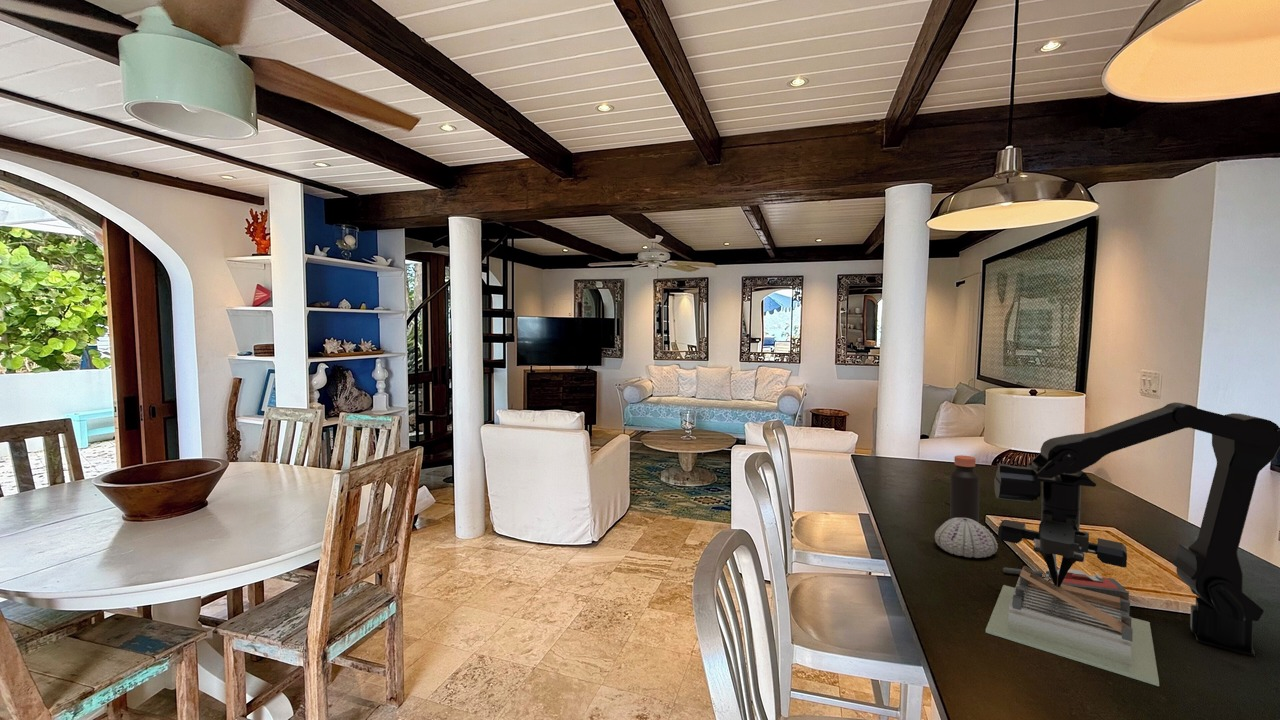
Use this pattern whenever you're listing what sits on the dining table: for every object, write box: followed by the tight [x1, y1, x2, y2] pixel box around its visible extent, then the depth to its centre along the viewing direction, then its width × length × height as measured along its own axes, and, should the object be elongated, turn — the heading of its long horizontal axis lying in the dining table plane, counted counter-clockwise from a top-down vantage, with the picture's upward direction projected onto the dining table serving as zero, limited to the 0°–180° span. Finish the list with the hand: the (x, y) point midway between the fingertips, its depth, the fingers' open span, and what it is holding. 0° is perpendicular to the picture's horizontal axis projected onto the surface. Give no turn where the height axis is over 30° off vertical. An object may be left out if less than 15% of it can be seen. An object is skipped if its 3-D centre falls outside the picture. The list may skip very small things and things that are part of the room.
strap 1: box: [1028, 581, 1127, 607], centre depth 97 cm, size 15×3×1 cm, turn 48°
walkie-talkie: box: [1002, 567, 1127, 598], centre depth 108 cm, size 9×4×20 cm
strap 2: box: [1019, 565, 1130, 633], centre depth 88 cm, size 15×3×1 cm, turn 48°
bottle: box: [949, 454, 980, 524], centre depth 142 cm, size 7×7×20 cm
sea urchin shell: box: [934, 518, 999, 559], centre depth 128 cm, size 13×14×8 cm
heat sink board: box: [985, 567, 1160, 687], centre depth 93 cm, size 22×22×7 cm
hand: (1057, 585), depth 98 cm, fingers closed
